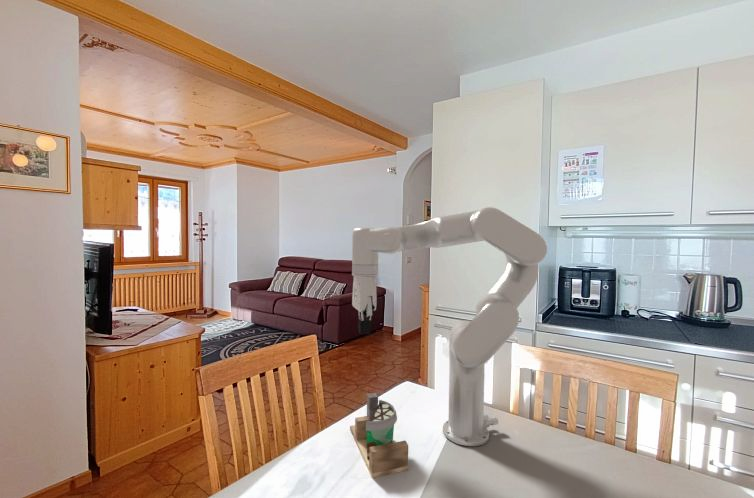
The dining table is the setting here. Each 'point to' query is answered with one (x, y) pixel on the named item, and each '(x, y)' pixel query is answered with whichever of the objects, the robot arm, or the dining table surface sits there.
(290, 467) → the dining table surface
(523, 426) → the dining table surface
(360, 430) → the block
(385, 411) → the food container
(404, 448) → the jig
